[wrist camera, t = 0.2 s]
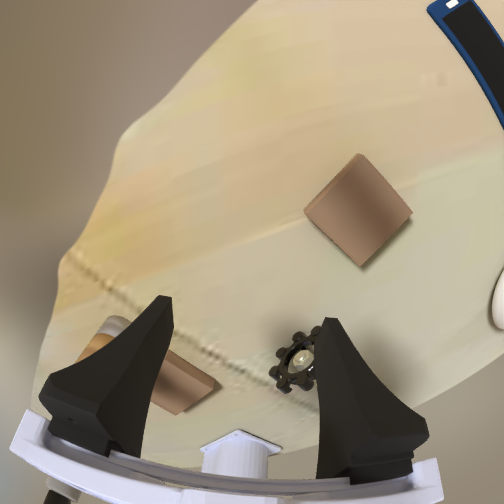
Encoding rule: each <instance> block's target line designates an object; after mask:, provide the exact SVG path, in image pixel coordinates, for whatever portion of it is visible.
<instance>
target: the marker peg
mask: <svg viewBox="0 0 504 504" xmlns="http://www.w3.org/2000/svg"><path fill="white" fill-rule="evenodd" d="M130 324H131V322H130V321H128V320H127V319H125V318H123V317H121V316H110V317H108V318H107V319H106V321H105V322H104V323H103V325H102V326H101V327H100V329H99V330H98V331H97V333H96V334H95V336H94V337H93V338H92V340H91V341H90V342H89V344H88V345H87V347H86V348H85V349H84V351H83V352H82V354H81V355H80V357H79V358H78V359H77V361H76V362H75V363H77V362H79V361H81V360H83V359H84V358H86V357H88V356H90V355H91V354H93V353H94V352H96V351H97V350H99V349H100V348H102V347H103V346H105V345H106V344H107V343H109V342H110V341H111V340H113V339H114V338H115V337H116V336H118V335H119V334H120V333H121V332H122V331H123V330H124V329H126V328H127V327H128V326H129V325H130Z"/></svg>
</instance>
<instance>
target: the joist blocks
mask: <svg viewBox="0 0 504 504" xmlns="http://www.w3.org/2000/svg"><path fill="white" fill-rule="evenodd" d="M304 213H305V215H306V216H307V217H308V218H309V219H310V220H311V221H312V222H313V223H314V224H316V225H317V226H318V227H319V228H320V229H321V230H322V231H323V232H324V233H325V234H326V235H327V236H328V237H330V238H331V239H332V240H333V241H334V242H335V243H336V244H337V245H338V246H339V247H340V248H341V249H342V250H343V251H344V252H345V253H346V254H347V255H348V256H349V257H350V258H352V259H353V260H354V261H355V262H356V263H357V264H358V265H359V266H361V265H362V264H363V263H364V262H365V261H366V260H367V259H368V258H369V257H370V256H371V255H372V254H373V253H374V252H375V251H376V250H377V249H378V248H379V247H380V246H381V245H382V244H383V243H384V242H385V241H386V240H387V239H388V238H389V237H390V236H391V235H392V234H393V233H394V232H395V231H396V230H397V229H398V228H399V227H400V226H401V225H402V224H403V223H404V222H405V221H406V220H407V219H408V217H409V216H410V215H411V214H412V213H413V212H412V211H411V209H410V208H409V207H408V206H407V204H406V203H405V202H404V201H403V199H402V198H401V197H400V196H399V195H398V193H397V192H396V191H395V190H394V189H393V187H392V186H391V185H390V184H389V183H388V182H387V180H386V179H385V178H384V177H383V176H382V175H381V174H380V173H379V171H378V170H377V169H376V168H375V167H374V166H373V165H372V164H371V163H370V162H369V161H368V159H367V158H366V157H365V156H364V155H361V154H356V155H355V156H354V157H353V158H352V159H351V160H350V162H349V163H348V164H347V165H346V166H345V167H344V168H343V169H342V170H341V171H340V172H339V173H338V174H337V175H336V176H335V177H334V179H333V180H332V181H331V182H330V183H329V184H328V185H327V186H326V187H325V188H324V189H323V190H322V191H321V192H320V193H319V194H318V195H317V196H316V197H315V199H314V200H313V201H312V202H311V203H310V204H309V205H308V206H307V207H306V208H305V209H304ZM214 384H215V379H214V378H212V377H211V376H209V375H207V374H206V373H204V372H202V371H201V370H199V369H198V368H196V367H194V366H193V365H191V364H190V363H188V362H187V361H185V360H184V359H182V358H181V357H179V356H177V355H176V354H174V353H173V352H171V351H170V350H168V351H167V353H166V356H165V358H164V361H163V363H162V366H161V369H160V371H159V374H158V376H157V379H156V382H155V385H154V388H153V391H152V396H151V400H150V401H151V402H153V403H155V404H156V405H158V406H160V407H161V408H163V409H165V410H167V411H168V412H170V413H172V414H174V415H177V414H179V413H180V412H182V411H183V410H185V409H186V408H188V407H189V406H191V405H192V404H194V403H195V402H196V401H198V400H199V399H201V398H202V397H203V396H205V395H206V394H208V393H209V392H210V391H212V390H213V389H214Z"/></svg>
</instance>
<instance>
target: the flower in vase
mask: <svg viewBox="0 0 504 504" xmlns="http://www.w3.org/2000/svg"><path fill="white" fill-rule="evenodd" d="M492 316H493V321H494V323H495V325H496V326H497V327H498V328H500V329H503V330H504V270H503V272H502V274H501V276H500V278H499V280H498V283H497V285H496V288H495V292H494V295H493V301H492Z"/></svg>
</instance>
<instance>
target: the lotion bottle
mask: <svg viewBox="0 0 504 504" xmlns="http://www.w3.org/2000/svg"><path fill="white" fill-rule="evenodd" d="M46 485H47V487H49V488H50V489H51V490H49V492H48V494H47V496H46V498H45V501H44V503H43V504H71V502H70V501H73V502H78V500H79V498H80V495H81V492H82V491H80V490H78V489H76V488H74V487H72V486H70V485H68V484H66V483H64V482H62V481H60V480H58V479H56V478H54V477H52V476H50V475H49V477H48V479H47V482H46ZM69 500H70V501H69Z"/></svg>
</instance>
